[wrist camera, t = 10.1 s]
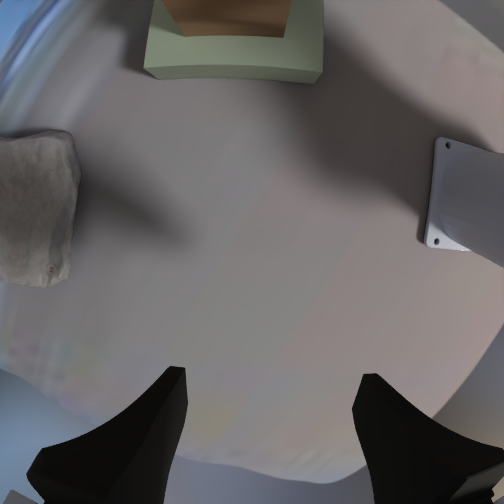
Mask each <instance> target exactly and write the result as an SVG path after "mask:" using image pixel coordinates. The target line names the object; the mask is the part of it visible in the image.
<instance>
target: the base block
mask: <svg viewBox="0 0 504 504" xmlns="http://www.w3.org/2000/svg"><path fill="white" fill-rule="evenodd" d="M323 39H324V0H292V2H291V6H290V11H289V15H288V19H287V24H286V28H285V33H284V38H277V37H261V36H192V37H184V35H183V33H182V32H181V30H180V29H179V27H178V25H177V24H176V22H175V21H174V19H173V18H172V16H171V14H170V13H169V11H168V10H167V8H166V7H165V5H164V4H163V2H162V1H161V0H154V5H153V10H152V15H151V21H150V27H149V33H148V39H147V46H146V53H145V61H144V69H145V70H147V71H148V72H149V73H151V74H152V75H153V76H155V77H156V78H157V79H159V80H161V79H181V78H243V79H262V80H276V81H288V82H298V83H307V84H314V83H315V82H316V80H317V79H318V78H319V76H320V75H321V74H322V73H323Z"/></svg>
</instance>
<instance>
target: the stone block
mask: <svg viewBox="0 0 504 504" xmlns="http://www.w3.org/2000/svg"><path fill="white" fill-rule="evenodd" d="M81 174H82V172H81V169H80V166H79V162H78V156H77V152H76V148H75V143H74V139H73V137H72V135H71V134H70V133H67V132H62V131H55V130H46V131H44V132H42V133H39V134H33V135H30V136H27V137H21V138H9V137H0V281H4V282H7V281H8V282H13V283H18V284H22V285H27V286H37V287H49V286H53V285H55V284H57V283H59V282H60V281H61V280H66V279H67V278H68V276H69V272H70V268H71V263H70V259H71V240H72V236H73V230H74V226H73V224H74V219H75V210H76V203H77V199H78V189H79V184H80V181H81Z"/></svg>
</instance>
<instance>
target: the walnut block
mask: <svg viewBox="0 0 504 504" xmlns="http://www.w3.org/2000/svg"><path fill="white" fill-rule="evenodd" d="M161 1H162V2H163V4H164V5H165V7H166V8H167V10H168V11H169V13H170V14H171V16H172V18H173V19H174V21H175V22H176V24H177V25H178V27H179V29H180V30H181V32H182V33H183V35H184V37H192V36H261V37H277V38H284V33H285V28H286V24H287V19H288V15H289V11H290V6H291V2H292V0H161Z"/></svg>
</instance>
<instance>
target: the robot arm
mask: <svg viewBox="0 0 504 504" xmlns="http://www.w3.org/2000/svg"><path fill="white" fill-rule="evenodd" d="M446 142H447V144H448V148H446ZM436 238H437V242H436V243H435V244H434V240H435V239H436ZM424 244H425V245H426V246H427V247H429V248H439V249H450V250H461V251H471V252H475V253H477V254H479V255H481V256H483V257H485V258H486V259H488V260H490V261H492V262H494V263H496V264H497V265H499V266H501V267H503V268H504V153H492V152H489V151H486V150H483V149H480V148H477V147H474V146H471V145H468V144H465V143H461V142H458V141H455V140H451V139H448V138H444V137H438V138H437V139H436V140H435V151H434V164H433V176H432V185H431V194H430V202H429V210H428V217H427V223H426V229H425V235H424ZM187 406H188V398H187V386H186V372H185V368H183V367H175V366H170V367H168V368H167V369H166V370H165V372H164V373H163V374H162V375H161V376H160V377H159V378H158V379H157V380H156V381H155V382H154V383H153V384H152V385H151V386H150V387H149V388H148V389H147V390H146V391H145V392H144V393H143V394H142V395H141V396H140V397H139V398H138V399H137V400H135V401H134V402H133V403H132V404H131V405H130V406H128V407H127V408H126V409H125V410H123V411H122V412H121V413H119V414H118V415H117V416H115V417H114V418H112V419H111V420H109V421H108V422H106V423H104V424H103V425H101V426H99V427H97V428H96V429H94V430H92V431H90V432H88V433H86V434H84V435H81V436H79V437H77V438H74V439H71V440H69V441H66V442H63V443H60V444H56V445H53V446H49V447H46V448H42V449H41V451H40V452H39V453H38V455H37V456H36V458H35V460H34V461H33V463H32V465H31V467H30V468H29V470H28V472H27V474H26V475H27V478H28V481H29V482H30V484H31V485H32V486H33V488H34V489H35V490H36V491H37V492H38V493H39V495H40V496H41V497H42V498H43V499H44V501H45V502H44V504H163V503H164V497H165V491H166V485H167V480H168V474H169V471H170V467H171V464H172V461H173V458H174V455H175V451H176V448H177V445H178V442H179V439H180V436H181V433H182V430H183V427H184V423H185V418H186V412H187ZM352 412H353V419H354V424H355V429H356V432H357V435H358V438H359V441H360V444H361V447H362V450H363V453H364V456H365V459H366V463H367V466H368V469H369V473H370V476H371V482H372V487H373V493H374V501H375V504H504V496H503V497H501V498H499V499H498V500H497V501H495V502H494V503H493V502H492V500H491V498H492V497H493V496H494V492H493V490H492V488H493V487H494V486H495V485H496V484H497V483H498V482H499V481H500V480H501V478H502V477H503V476H504V450H503V449H502V448H499V447H494V446H491V445H487V444H483V443H480V442H477V441H474V440H471V439H469V438H466V437H464V436H461V435H460V434H457V433H455V432H453V431H451V430H449V429H448V428H446V427H444V426H442V425H441V424H439V423H437V422H435V421H434V420H433V419H431V418H430V417H428V416H427V415H425V414H424V413H423V412H421V411H420V410H419V409H417V408H416V407H415V406H414V405H412V404H411V403H410V402H409V401H408V400H406V399H405V398H404V397H403V396H402V395H401V394H399V393H398V392H397V391H396V390H395V389H394V388H393V387H392V386H391V385H390V384H388V383H387V382H386V381H385V380H384V379H383V378H382V377H381V376H379V375H378V374H377V373H373V374H363V377H362V380H361V383H360V386H359V389H358V392H357V395H356V398H355V401H354V404H353V407H352ZM3 504H38V503H36V502H34V501H33V500H31V499H29V498H27V497H25V496H23V495H21V494H19V493H18V492H16V491H14V490H10V492H9V494H8V495H7V497H6V499H5V501H4V502H3Z"/></svg>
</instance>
